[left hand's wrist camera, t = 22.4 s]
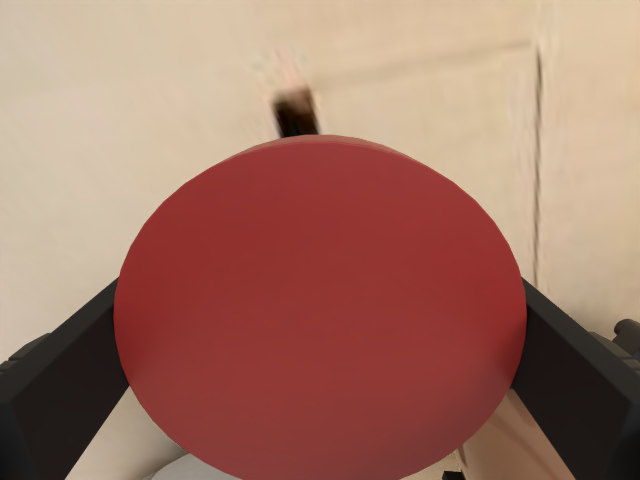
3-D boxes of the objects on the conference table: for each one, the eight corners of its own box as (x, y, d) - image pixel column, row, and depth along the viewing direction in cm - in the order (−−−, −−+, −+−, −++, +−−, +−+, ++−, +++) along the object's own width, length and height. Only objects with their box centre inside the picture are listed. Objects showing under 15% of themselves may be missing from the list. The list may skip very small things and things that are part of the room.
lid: (109, 149, 10) (54, 159, 8) (507, 119, 10) (558, 122, 8) (187, 441, 14) (163, 501, 12) (476, 426, 14) (504, 484, 12)
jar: (537, 421, 31) (732, 700, 16) (420, 419, 30) (511, 699, 16) (569, 320, 27) (854, 562, 13) (437, 317, 27) (574, 559, 13)
